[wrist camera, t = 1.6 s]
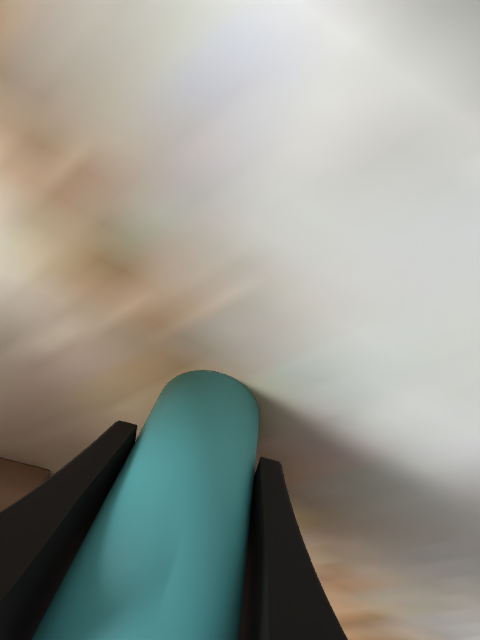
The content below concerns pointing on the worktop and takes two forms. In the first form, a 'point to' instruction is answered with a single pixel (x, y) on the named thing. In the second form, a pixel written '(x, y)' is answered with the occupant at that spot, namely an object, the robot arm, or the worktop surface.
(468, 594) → the worktop surface
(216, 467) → the peg
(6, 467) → the socket block
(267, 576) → the robot arm
